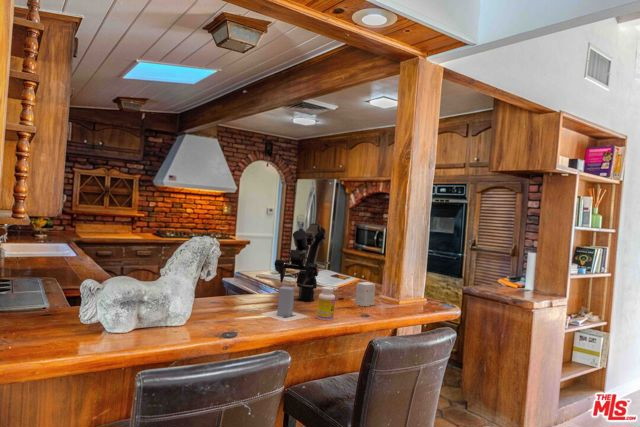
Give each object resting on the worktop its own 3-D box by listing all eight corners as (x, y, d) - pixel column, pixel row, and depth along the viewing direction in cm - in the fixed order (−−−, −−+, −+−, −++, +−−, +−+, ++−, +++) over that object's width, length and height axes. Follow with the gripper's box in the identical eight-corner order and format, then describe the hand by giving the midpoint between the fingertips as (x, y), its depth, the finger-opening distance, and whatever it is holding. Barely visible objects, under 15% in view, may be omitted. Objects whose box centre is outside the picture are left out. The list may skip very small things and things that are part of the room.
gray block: (280, 312, 175) (282, 286, 175) (292, 314, 174) (294, 287, 174) (276, 315, 170) (279, 288, 170) (288, 317, 169) (291, 289, 169)
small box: (365, 302, 211) (366, 281, 211) (374, 305, 207) (375, 283, 207) (354, 304, 205) (356, 282, 205) (363, 307, 201) (365, 284, 201)
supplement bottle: (331, 322, 169) (334, 290, 169) (315, 320, 171) (317, 288, 170) (334, 318, 176) (337, 287, 176) (318, 316, 177) (321, 285, 177)
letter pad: (259, 315, 171) (260, 313, 171) (283, 310, 182) (284, 308, 182) (285, 323, 162) (285, 321, 162) (309, 317, 173) (309, 316, 173)
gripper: (277, 240, 185) (266, 269, 175) (319, 245, 181) (311, 274, 171) (281, 257, 193) (271, 285, 182) (321, 261, 189) (314, 290, 178)
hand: (291, 283), depth 178 cm, fingers open, 9 cm apart
